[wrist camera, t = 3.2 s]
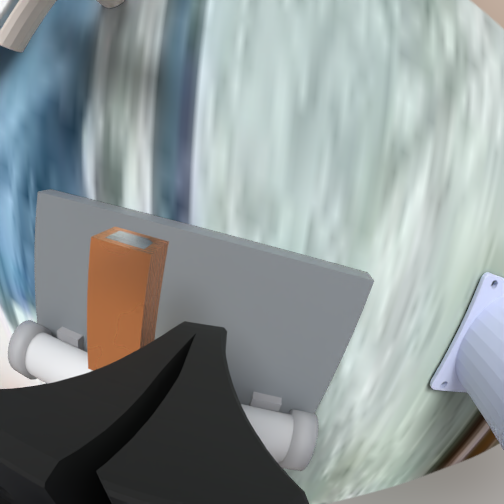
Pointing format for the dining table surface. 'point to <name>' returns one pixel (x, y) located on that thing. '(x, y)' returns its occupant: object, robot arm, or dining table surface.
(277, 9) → the dining table surface
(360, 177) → the dining table surface
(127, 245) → the valve lever
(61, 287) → the board
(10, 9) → the spoon rest
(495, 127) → the dining table surface
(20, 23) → the pipe connector
